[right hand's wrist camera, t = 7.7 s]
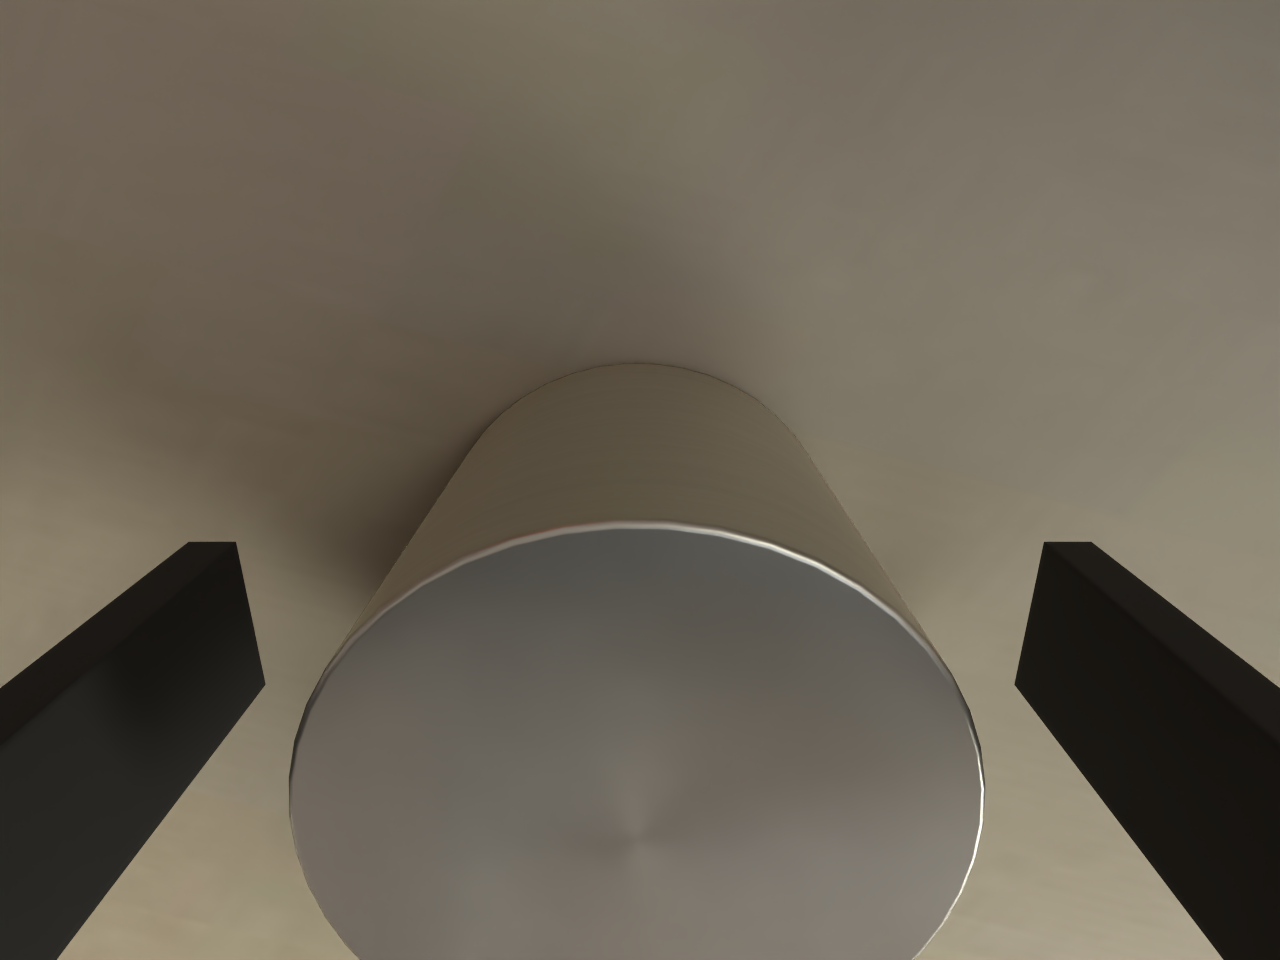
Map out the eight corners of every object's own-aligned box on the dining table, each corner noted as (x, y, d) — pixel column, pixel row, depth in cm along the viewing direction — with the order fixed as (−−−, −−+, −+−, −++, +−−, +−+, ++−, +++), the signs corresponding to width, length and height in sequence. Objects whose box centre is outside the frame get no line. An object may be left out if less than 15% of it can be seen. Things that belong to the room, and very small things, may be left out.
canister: (416, 373, 14) (207, 541, 7) (838, 351, 14) (1030, 500, 7) (471, 720, 16) (355, 1081, 10) (824, 705, 16) (954, 1060, 10)
